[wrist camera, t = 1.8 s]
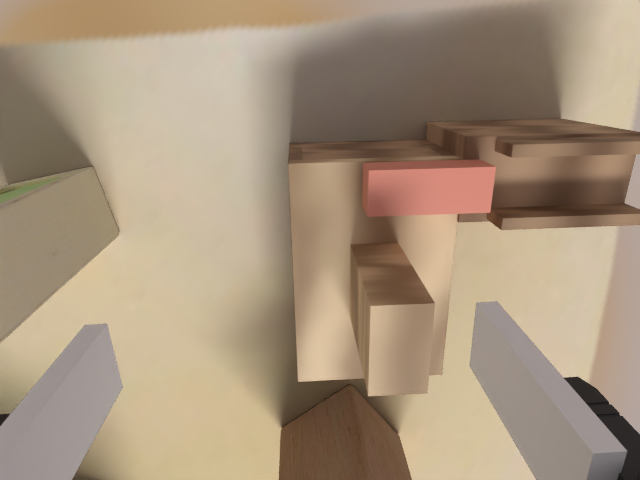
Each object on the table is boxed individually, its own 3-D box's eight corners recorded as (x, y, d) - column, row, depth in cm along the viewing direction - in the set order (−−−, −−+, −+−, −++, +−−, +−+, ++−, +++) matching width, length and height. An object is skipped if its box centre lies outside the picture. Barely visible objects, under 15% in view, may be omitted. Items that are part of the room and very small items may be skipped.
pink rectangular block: (362, 205, 30) (367, 216, 28) (363, 162, 29) (368, 170, 27) (475, 202, 31) (490, 212, 28) (480, 159, 29) (496, 166, 27)
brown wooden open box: (297, 322, 44) (298, 405, 33) (288, 125, 37) (286, 147, 26) (527, 311, 45) (602, 389, 34) (561, 118, 38) (669, 137, 27)
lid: (297, 372, 37) (299, 476, 27) (288, 160, 30) (285, 200, 21) (437, 365, 37) (486, 465, 28) (457, 155, 31) (529, 192, 21)
